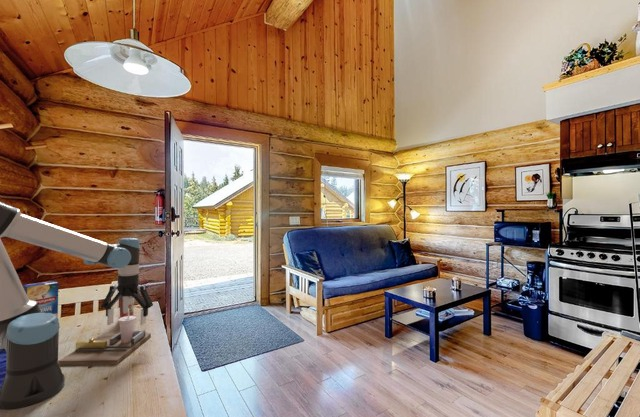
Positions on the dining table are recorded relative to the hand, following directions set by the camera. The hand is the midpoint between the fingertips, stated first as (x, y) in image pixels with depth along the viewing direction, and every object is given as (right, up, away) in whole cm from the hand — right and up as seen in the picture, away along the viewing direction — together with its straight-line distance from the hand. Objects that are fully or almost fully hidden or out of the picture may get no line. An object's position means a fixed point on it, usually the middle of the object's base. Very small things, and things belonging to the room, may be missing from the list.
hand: (126, 324), depth 125 cm
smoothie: (0, -8, 0) cm, 8 cm away
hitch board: (-4, -9, -5) cm, 11 cm away
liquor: (-18, -9, +28) cm, 35 cm away
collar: (0, -7, +1) cm, 7 cm away
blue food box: (-50, -8, +13) cm, 52 cm away
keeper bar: (-9, -7, -8) cm, 14 cm away
